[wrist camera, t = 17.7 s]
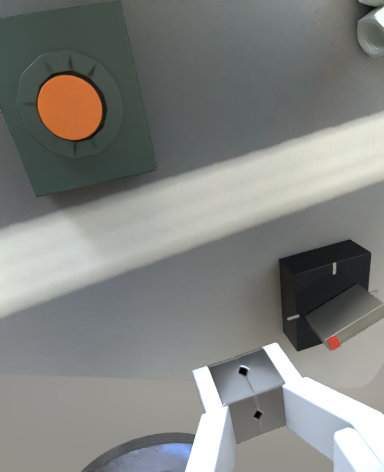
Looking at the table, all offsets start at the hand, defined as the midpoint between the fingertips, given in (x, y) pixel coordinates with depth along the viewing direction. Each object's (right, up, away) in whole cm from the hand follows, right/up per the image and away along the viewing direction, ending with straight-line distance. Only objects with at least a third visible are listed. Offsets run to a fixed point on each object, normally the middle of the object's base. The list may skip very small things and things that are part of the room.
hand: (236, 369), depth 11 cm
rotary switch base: (+14, -2, +29) cm, 32 cm away
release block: (-11, +15, +15) cm, 24 cm away
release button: (-10, +14, +12) cm, 21 cm away
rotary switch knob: (+14, -3, +26) cm, 30 cm away
